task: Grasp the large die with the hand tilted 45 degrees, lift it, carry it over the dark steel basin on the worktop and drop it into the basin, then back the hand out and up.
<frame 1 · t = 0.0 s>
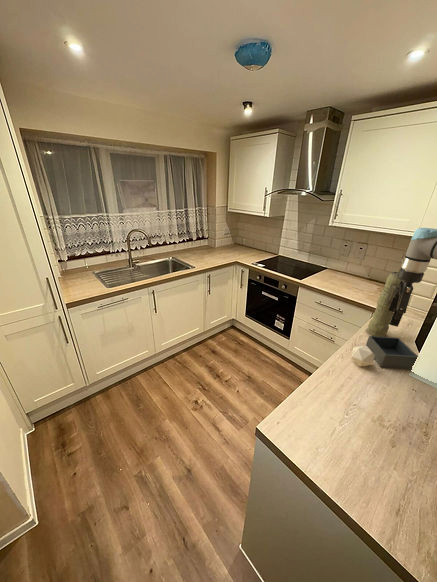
hand: (392, 317, 98), 24 cm above the worktop, tool pointing down, fingers open, 13 cm apart
die: (360, 363, 107), on the worktop
basin: (387, 357, 111), on the worktop
green lumpy column: (375, 333, 129), on the worktop
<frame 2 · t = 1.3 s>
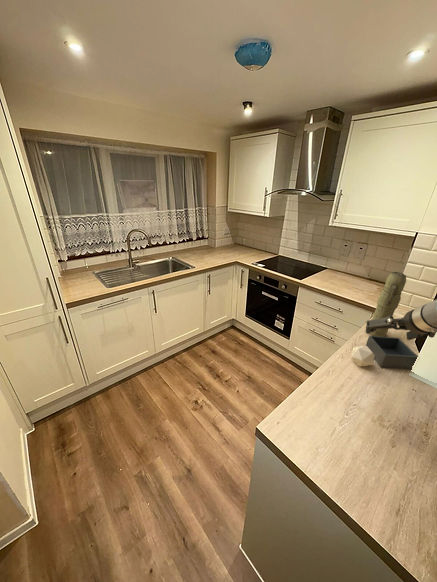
hand: (387, 332, 87), 24 cm above the worktop, tool tilted 45°, fingers open, 13 cm apart
nothing on the worktop moved.
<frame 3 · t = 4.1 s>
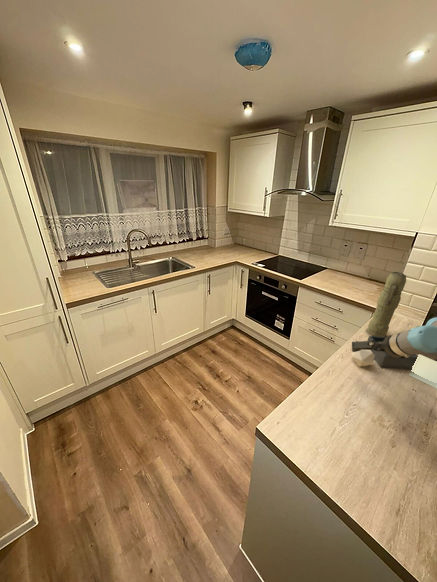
hand: (370, 351, 98), 10 cm above the worktop, tool tilted 45°, fingers open, 13 cm apart
nothing on the worktop moved.
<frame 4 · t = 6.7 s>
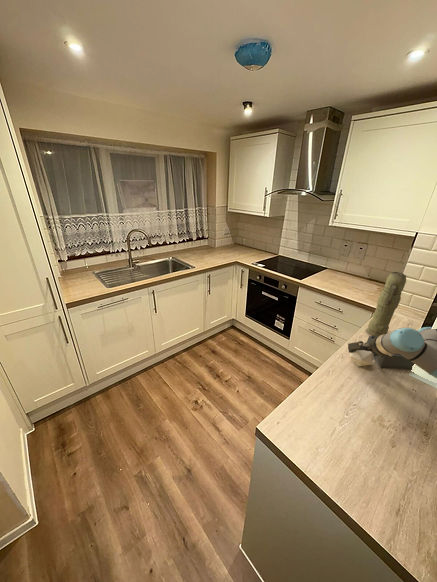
hand: (360, 351, 108), 4 cm above the worktop, tool tilted 45°, fingers closed on die, 9 cm apart
die: (359, 362, 107), on the worktop, touching gripper
everything else where it was.
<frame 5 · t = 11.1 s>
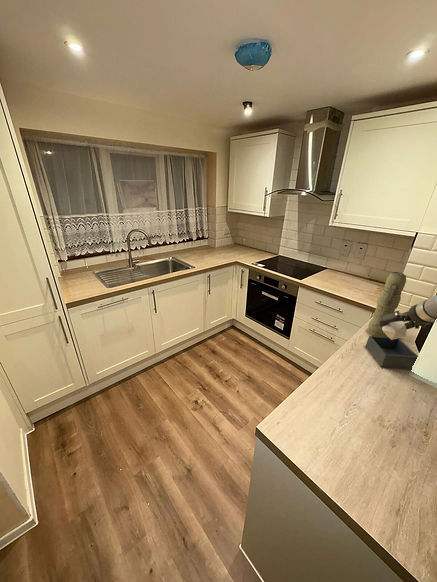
hand: (392, 325, 106), 16 cm above the worktop, tool tilted 45°, fingers closed on die, 9 cm apart
die: (391, 336, 104), point 12 cm above the worktop, touching gripper
everything else where it was.
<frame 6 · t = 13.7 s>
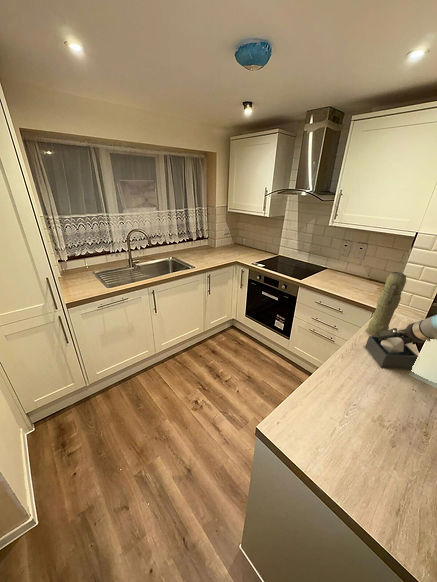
hand: (390, 339, 110), 8 cm above the worktop, tool tilted 45°, fingers closed on die, 9 cm apart
die: (389, 350, 109), point 4 cm above the worktop, touching gripper
everything else where it was.
when the fingers open (6 cm above the worktop, at t = 16.2 s): die stays where it is, resting on basin.
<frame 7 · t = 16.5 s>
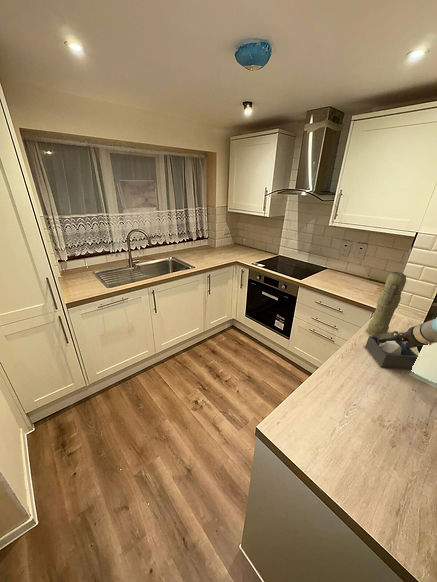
hand: (392, 343, 108), 7 cm above the worktop, tool tilted 45°, fingers open, 11 cm apart
die: (386, 356, 110), point 1 cm above the worktop, touching basin
everything else where it was.
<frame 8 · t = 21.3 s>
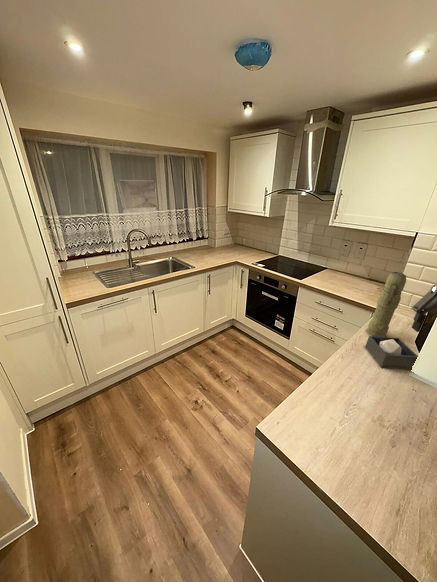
hand: (435, 331, 80), 29 cm above the worktop, tool pointing down, fingers open, 13 cm apart
nothing on the worktop moved.
at the end: die inside the target area in the basin (0.5 cm from its centre), point 0.6 cm above the basin's base; the gripper is holding nothing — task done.
